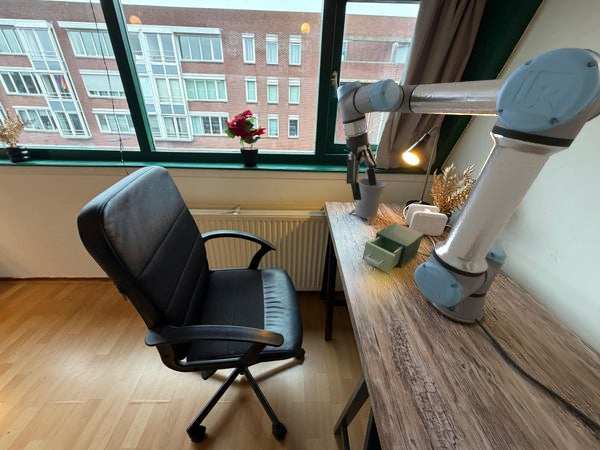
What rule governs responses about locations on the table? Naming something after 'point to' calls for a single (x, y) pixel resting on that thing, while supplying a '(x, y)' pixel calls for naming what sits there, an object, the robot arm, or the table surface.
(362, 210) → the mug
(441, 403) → the table surface
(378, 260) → the drawer
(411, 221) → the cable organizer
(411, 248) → the cabinet
